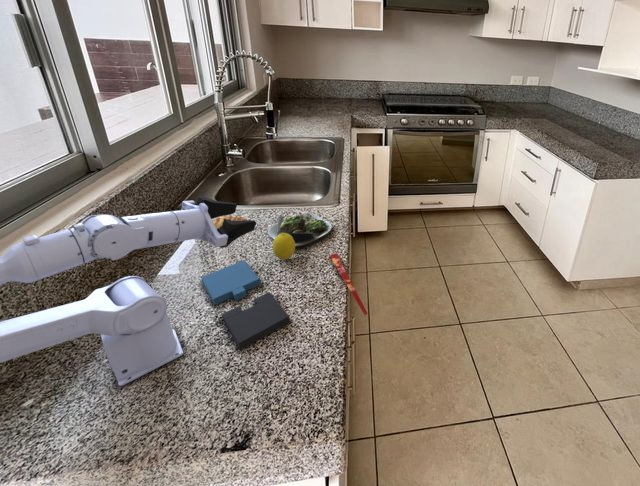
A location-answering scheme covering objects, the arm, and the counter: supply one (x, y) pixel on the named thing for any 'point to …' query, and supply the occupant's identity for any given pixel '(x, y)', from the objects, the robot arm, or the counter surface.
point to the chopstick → (347, 280)
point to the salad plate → (302, 229)
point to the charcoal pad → (255, 320)
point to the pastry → (219, 221)
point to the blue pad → (230, 282)
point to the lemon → (284, 246)
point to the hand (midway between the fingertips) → (244, 216)
